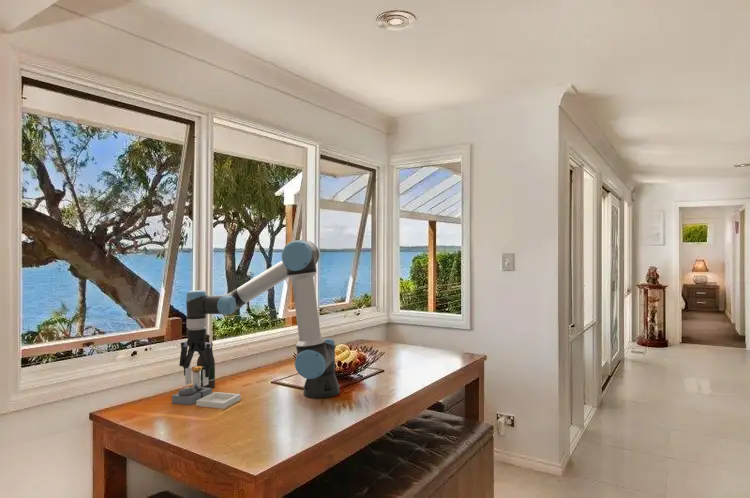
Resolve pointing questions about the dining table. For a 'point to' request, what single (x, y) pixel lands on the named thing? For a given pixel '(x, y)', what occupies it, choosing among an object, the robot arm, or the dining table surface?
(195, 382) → the lock pin
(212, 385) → the beer bottle
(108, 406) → the dining table surface
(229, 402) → the tray
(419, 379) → the dining table surface
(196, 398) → the block
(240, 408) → the dining table surface
